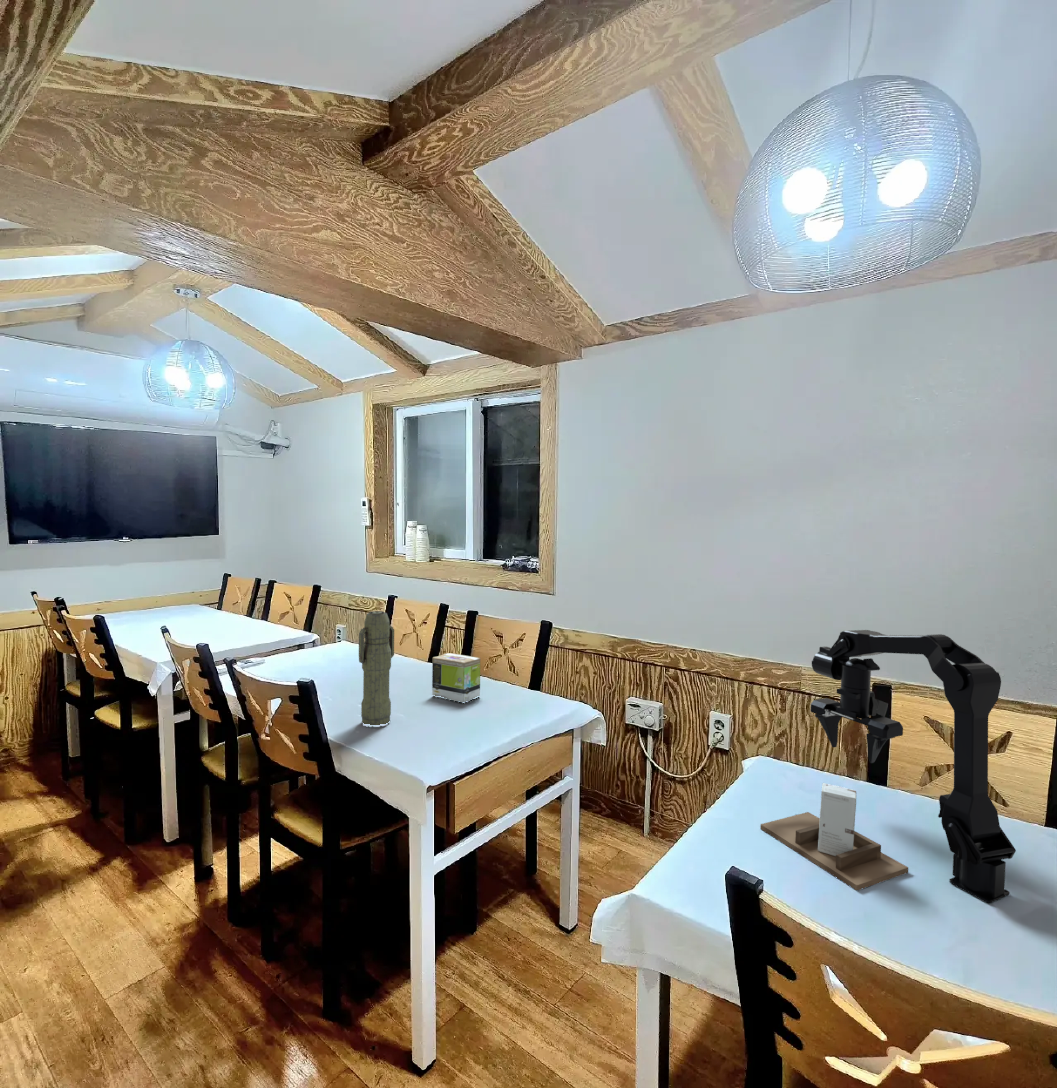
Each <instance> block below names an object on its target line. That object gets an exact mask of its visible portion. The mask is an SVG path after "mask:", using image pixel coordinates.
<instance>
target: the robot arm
mask: <svg viewBox="0 0 1057 1088" xmlns="http://www.w3.org/2000/svg"><path fill="white" fill-rule="evenodd" d="M882 654H901V655H902V654H904V655H922V656H924V657H925V658H926V660H927V661H928V664H929V666H930V669H931V671H932V673H933V674H935V675H936V676H937V678H938V679H939V680H940V681H942V684H943V685H942V686H943V693H944V697H945V698H946V700H947V701H948V703H949V705H950V706H951V708H952V710H953V713H954V714H953V788H952V790H951V792H950V793H947V794H940V795H939V799H938V802H939V808H940V809H939V813H938V816H937V817H938V818H939V819H940V818H941V826H942V829H943V830H944V833H945V836H946V840H947V844H948V848H949V851H950V852H952V853H953V855H952V856H953V857H952V876H953V877H952V878H949V881H948V882H949V883H950V884H952V885H954V886H956V887H957V888H958V889H961V890H963V891H964V892H967V893H968V894H969V895H972V896H974V897H976V898H978V899H979V900H981V901H983V902H985V903H988V904H991V903H994V902H996V901H998V900H1001V899H1003V898H1006V897H1008V896H1010V895H1011V894H1010V891H1009V890H1007V889H1006V888H1005V884H1006V883H1005V881H1006V864H1007V862H1006V861H1004V860H1006V859H1008V860H1010V859H1012V858H1013V857H1014V855H1015V853H1016V852H1017V850H1016V848H1015V846H1014V845H1013V844H1012V842H1011V841H1010V839H1009V837H1008V836H1007V835H1006V833H1005V832H1004V830H1003V829H1002V827H1001V826H1000V819H999V814H998V810H997V809H998V808H996V806H995V804H994V803H993V801H992V799H991V798H990V796H989V792H988V791H989V789H988V788H989V715H990V713H991V712H992V710H993V708H994V706H995V705H996V703H997V701H999V696H1000V691H1001V686H1002V680H1001V675H1000V673H999V672H997V670H995V668H994V667H993V666H991V665H990V664H988V663H985V661H983V660H982V659H981V658H980V657H979V656H977V655H976V654H975V653H972V652H971V651H969V650H968V649H966V648H965V647H962V646H961V645H959V644H958V643H956V642H955V641H954V639H952V638H951V637H949V636H947V635H946V634H942V633H940V634H925V635H922V634H921V635H919V634H918V635H913V634H910V635H908V634H907V635H905V634H904V635H903V634H899V635H897V634H896V635H895V634H894V635H893V634H892V635H891V634H890V635H888V634H883V633H881V632H878V631H875V630H874V631H873V630H869V629H857V630H843V631H840V632H839V635H838V638H837V640H835V642H834V643H833V645H832V646H831V647H830V646H820V647H819V650H818V652H816V653H815V655H814V656H813V659H812V660H811V669H812V670H813V672H815V673H816V674H818V675H821V676H824V677H827V678H829V679H833V680H835V681H840V687H839V688H836V694H838V695H840V698H839V700H840V701H837V700H834V699H831V698H828V697H825V698H818V699H814V700H813V701H811V703H810V710H809V711H810V712H811V713H812V714H814V717H815V718H817V719H818V721H819V722H820V725H821V726H822V728H823V730H824V732H825V734H826V736H827V738H828V741H829V743H830V746H831V747H832V748H837V747H838V746H837V745H838V741H839V740H838V739H839V723H840V721H841V719H842V718H844V719H847V720H850V721H853V722H856V723H859V724H861V725H863V726H866V727H867V730H868V732H867V733H866V744H867V745H866V746H867V756H868V761H869V763H870V764H874V763H875V762H876V760H877V758H878V756H879V754H880V752H881V750H882V748H883V746H884V745H885V743H886V742H887V741H888V740H890V739H895V738H896V737H902V736H903V735H904V727H903V724H902V723H901V722H900V721H898V720H895V719H892V718H889V717H886V714H887V711H888V705H889V703H888V702H884V701H882V700H879V699H877V698H876V696H875V692H874V691H871V678H872V677H871V676H872V671H873V672H874V671H879V670H881V667H880V666H879V665H878V664H877V663H876V662H875V661H874V659H873V658H863V659H861V658H862V657H866V656H867V657H870V656H875V655H882ZM860 657H861V658H860ZM952 663H953V664H952ZM876 715H879V716H880V717H877V718H873V717H874V716H876ZM871 716H872V717H871Z"/></svg>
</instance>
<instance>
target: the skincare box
mask: <svg viewBox="0 0 1057 1088" xmlns="http://www.w3.org/2000/svg"><path fill="white" fill-rule="evenodd" d="M820 798H821V799H820V809H819V810H820V811H819V818H820V823H819V840H818V851H820V852H823V853H826V854H830V855H833V856H836V855H837V854H841V853H844V852H847V851H850V850H853V842H854V831H855V825H856V824H855V823H856V811H857V790H855V789H850V788H847V787H843V786H840V785H839V786H838V785H835V784H834V785H833V784H829V783H825V782H823V783H822V787H821V796H820Z"/></svg>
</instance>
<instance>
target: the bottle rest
mask: <svg viewBox="0 0 1057 1088" xmlns="http://www.w3.org/2000/svg"><path fill="white" fill-rule="evenodd" d="M819 823H820V817H819V816H817V815H814V814H812V813H811V812H809V811H806V812H803V813H798V814H795V815H791V816H786V817H784V818H779V819H775V820H771V821H768V822H767V821H766V822H764V823H760V830H761V831H763V832H765V833H766V834H768V835H769V836H771V837H773V838H774V839H776V840H777V841H779V842H780V843H782V844H783V845H785V846H787V847H788V848H790V849H791V850H792V851H794V852H796V853H797V854H798V855H800V856H802V857H804V858H805V859H807V860H808V861H810V862H811V863H813V864H815V865H816V866H818V867H819V868H821V869H823V870H824V871H825V872H827V873H828V872H829V874H830V875H831V876H833V877H834V878H836V877H837V878H836V879H837V880H839V879H840V880H839V881H841V880H842V881H843V883H844V884H845V883H846V884H845V885H847V886H849V885H850V886H851V887H850V886H849V887H850V888H852V889H853V888H854V889H853V890H855V891H856V890H858V891H861V890H863V889H865V887H866V888H868V887H871V886H874V885H875V886H876V885H878V884H879V883H883V882H885V881H888V880H891V879H894V878H897V877H899V876H902V875H906V874H908V873H909V867H908V866H907V865H905V864H903V863H902V862H899V861H898V860H896V859H894V858H893V857H891V856H888V855H887V854H885V853H883V852H882V851H881V850H882V845H881V844H879V843H878V842H876V841H874V840H872V839H870V838H868V837H866V836H865V835H863V834H861V833H860V832H857V831H856V830H854V842H853V850H850V851H847V852H844V853H841V854H837V855H836V856H833V855H830V854H826V853H823V852H820V851H818V840H819ZM842 881H841V882H842ZM862 888H863V889H862Z"/></svg>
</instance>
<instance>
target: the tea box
mask: <svg viewBox="0 0 1057 1088" xmlns="http://www.w3.org/2000/svg"><path fill="white" fill-rule="evenodd" d="M431 668H432V672H431V674H432V675H431V678H432V679H431V680H432V682H431V683H432V684H431V685H432V686H431V691H432V692H431V693H432V694H431V696H432V695H435V696H441V697H444V698H447V699H451V700H454V701H453V702H455V701H460V702H466V701H470V700H471V699H473V698H475V697H477V696H480V697H481V657H477V656H470V655H465V654H459V653H451V652H449V653H444V654H441V655H438V656H433V657H432V667H431ZM470 702H471V701H470Z"/></svg>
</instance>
